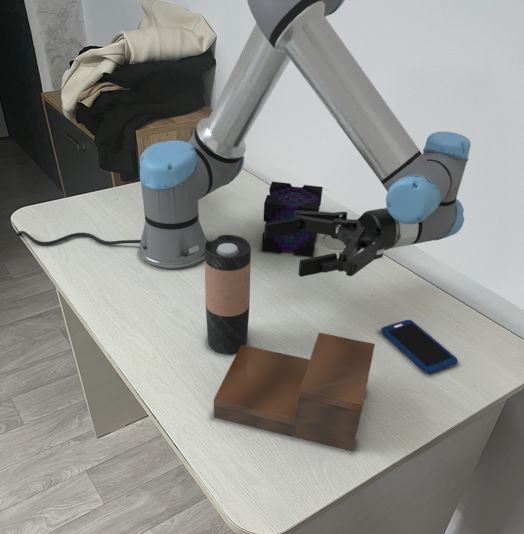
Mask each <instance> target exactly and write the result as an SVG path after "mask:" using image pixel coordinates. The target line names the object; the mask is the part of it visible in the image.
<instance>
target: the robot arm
mask: <svg viewBox="0 0 524 534" xmlns="http://www.w3.org/2000/svg"><path fill="white" fill-rule="evenodd" d="M345 1H346V0H247V5H248V7H249V10H250V13H251V14H252V15H251V16H252V17H253V19H254V21H255V24H254V26H253V29H251V30H252V31H251V33H250V34H249V37H248V39H247V41H246V43H245V45H244V47H243V49H242V51H241V53H240V55H239V57H238V59H237V60H236V62H235V65H234V67H233V69H232V71H231V73H230V75H229V77H228V78H227V81H226V83H225V84H224V87H223V89H222V91H221V93H220V95H219V97H218V99H217V100H216V103H215V105H214V107H213V109H212V111H211V114H210V115H209V117H204V118H202V119H200V120H199V121H198V123H197V124H196V127H195V128H194V130H193V133H192V134H191V137H190V139H189V140H188V141H184V140H178V139H177V140H176V139H171V140H166V141H159V142H156V143H153V144H151V145H150V146H147V147H146V148H145V149H144V150H143V151H142V153H141V154H140V157H139V174H138V175H139V179H140V186H141V195H142V196H141V197H142V205H143V212H144V226H143V230H142V234H141V239H124V240H123V239H122V240H113V241H111V240H104V239H100V238H99V237H98V236H95V234H92V233H89V232H75V233H71V234H67V235H64V236H62V237H60V238H57V239H54V240H50V241H42V240H41V241H40V240H37V239H35V238H34V237H32V236H31V235H30V234H29V233H28V232H26V231H24V230H20V231H18V232H17V233H16V236H17V237H20V236H21V235H23V236H24V237H26V238H27V239H29V241H31V242H33V243H34V244H36V245H39V246H40V245H41V246H49V245H55V244H58V243H61V242H65V241H66V240H68V239H72V238H75V237H89V238H91V239H93V240H94V241H96V242H98V243H100V244H103V245H109V246H111V245H122V244H139V252H140V253H139V254H140V257H141V259H142V260H143V261H144V262H145V263H147V264H148V265H151V266H153V267H156V268H160V269H165V270H166V269H167V270H169V269H170V270H178V269H185V268H189V267H193V266H195V265H197V264H199V263H202V261H204V260H205V250H204V248H205V243H206V242H207V241H208V240H207V238H206V235H205V233H204V230H203V227H202V224H201V222H200V217H199V216H200V214H199V201H200V200H201V199H203V198H205V197H206V196H208V195H209V194H211V193H213V192H215V191H217V190H218V189H220V188H222V187H225V186H226V185H229V184H230V183H232V182H233V181H234V180H235V179H236V178H237V177H238V176H239V175H240V173H241V171H242V170H243V168H244V164H245V156H244V155H245V153H246V150H247V146H246V142H245V139H246V138H247V136H248V134H249V133H250V131H251V129H252V127H253V125H254V124H255V122H256V120H257V118H258V117H259V115H260V113H261V112H262V110H263V108H264V106H265V105H266V103H267V102H268V99H269V98H270V96H271V95H272V92H273V91H274V89H275V88H276V86H277V84H278V82H279V81H280V79H281V77H282V76H283V74H284V72H285V70H286V68H287V67H288V65H289V64H290V63H291V62H292V63H293V65H294V66H295V67H296V69H297V70H298V72H300V74H301V75H302V77H303V79H305V81H306V82H307V84H308V86H309V87H310V88H311V89H312V90H313V92H314V93H315V94H316V96H317V98H318V99H319V100H320V101H321V103H322V104H323V105H324V107H325V108H326V109H327V111H328V113H330V115H331V116H332V117H333V119H334V120H335V122H336V123H337V125H338V126H339V127H340V129H341V130H342V131H343V133H344V134H345V135H346V137H347V138H348V139H349V141H350V142H351V143H352V145H353V146H354V148H355V149H356V150H357V151H358V153H359V154H360V155H361V157H362V159H364V161H365V162H366V164H367V165H368V166H369V168H370V169H371V171H372V172H373V173H374V175H375V176H376V177H377V179H378V180H379V181H380V183H381V184H382V186H383V188H384V189H385V190H386V192H387V193H386V197H385V204H386V207H384V208H376V209H370V210H366V211H364V212H363V213H362V214H361V215H360V216H359V218H357V219H353V218H352V219H350V218H348V212H347V211H334V212H333V211H332V212H330V211H319V212H315V211H295V215H294V218H293V219H288V220H282V221H276V222H270V223H266V222H264V231H263V233H264V237H265V239H269V238H275V237H280V236H285V235H291V234H297V233H298V231H299V230H300V231H306V232H312V233H317V235H318V234H319V235H324V236H329V237H330V238H331V239H333V240H338V241H340V242H342V243H343V245H344V246H345V247H344V249H343V250H342V251H339V254H337V253H335V252H333V253H329V254H327V253H326V254H323V255H318V256H313V257H308V258H304V259H303V258H302V259H299V263H298V273H297V274H298V276H299V277H300V278H302V277H307V276H312V275H316V274H320V273H323V274H324V273H330V272H334V271H338V272H345V275H346V276H348V277H353V276H354V275H356V274H357V273H358V272H359V271H361V270H363V269H364V268H365V267H366V266H368V265H369V264H371V263H372V262H373V261H375V260H379V259H382V258H383V257H384V252H385V251H388V250H390V249H392V250H393V249H396V248H401V247H406V246H411V245H416V244H422V243H428V242H432V241H440V240H442V239H445V238H449V237H452V236H454V235H456V234H457V233H459V231H461V229H462V227H463V225H464V222H465V217H464V213H465V212H464V211H465V210H464V209H465V208H464V206H463V204H462V203H461V201H460V200H459V199H458V194H459V190H460V187H461V182H462V179H463V176H464V173H465V170H466V166H467V162H469V154H470V150H471V145H472V144H471V141H470V138H468V137H467V136H465V135H464V134H461V133H458V132H457V133H456V132H453V131H436V132H432V133H430V134H429V135H428V136H427V138H426V141H425V145H424V147H423V148H422V151H423V152H421V150H420V148H419V147H418V145H416V143H415V142H414V141H413V140H414V139H412V137H411V136H410V135H409V134H408V132H407V131H406V129H405V127H404V126H403V124H402V123H401V122H400V121H399V119H398V118H397V116H396V115H395V113H394V111H392V109H391V108H390V106H389V105H388V104H387V102H386V101H385V99H384V97H382V95H381V94H380V92H379V91H378V89H377V88H376V87H375V86H374V84H373V82H372V81H371V80H370V78H369V77H368V75H367V74H366V73H365V71H364V70H363V68H362V67H361V65H360V64H359V63H358V61H357V60H356V59H355V57H354V56H353V54H352V52H350V50H349V49H348V47H347V45H345V43H344V42H343V40H342V39H341V38H340V36H339V35H338V33H337V32H336V30H335V29H334V27H333V26H332V25H331V24H330V22H329V21H328V19H327V18H326V17H328V16H330V15H333V14H334V13H336V12H337V11H338V10H339V9H340V7H341V6H343V4H344V3H345ZM290 61H291V62H290ZM337 228H338V229H337Z"/></svg>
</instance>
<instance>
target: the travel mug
mask: <svg viewBox="0 0 524 534" xmlns="http://www.w3.org/2000/svg"><path fill="white" fill-rule="evenodd" d="M251 249H252V247H251V244H250V242H249V241H248V240H247V239H246V238H244V237H241V236H238V235H235V234H233V235H232V234H221V235H218V236H217V237H216V238H215V239H212V240H210V241H209V240H207V242H206V243H205V248H204V250H205V259H204V292H205V293H204V294H205V295H204V297H205V301H204V302H205V314H206V315H205V316H206V317H205V318H206V332H207V333H206V334H207V343H208V346H209V348H210V349H211V350H212V351H214V352H216V353H218V354H221V355H234V354H237V352H238V350H239V348H240V346H241V345H245V346H247V342H248V333H249V318H250V301H251V299H250V298H251V260H252V259H251V253H252V251H251Z"/></svg>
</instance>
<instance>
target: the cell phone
mask: <svg viewBox="0 0 524 534" xmlns="http://www.w3.org/2000/svg"><path fill="white" fill-rule="evenodd" d="M380 332H381V334H382V335H383V336H384V337H386V338H387V340H389V341H390V342H391V343H392V344H393V345H394V346H395V347H396V348H398V350H400V351H401V352H402V353H403V354H404V355H405V356H406V357H408V359H409V360H411V361H412V362H413V363H414V364H415V365H416V366H417V367H418V368H420V370H422V371H423V372H424V373H425V374H433V373H436V372H439V371H441V370H444V369H446V368H449V367H452V366H455V365H456V364H457V363H458V358H457V357H456V356H455V355H454V354H453V353H452V352H450V351H449V350H447V348H445V347H444V346H443V345H442V344H441V343H439V342H438V341H437V340H436V339H434V338H433V337H432V336H431V335H430V334H429V333H428V332H426V331H425V330H424V329H423V328H422V327H420V326H419V325H418V324H417V323H416V322H414V321H413V320H412V319H405V320H402V321H399V322H396V323H393V324H389V325H387V326H384V327H382V328H381V329H380Z"/></svg>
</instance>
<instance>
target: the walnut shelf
mask: <svg viewBox="0 0 524 534" xmlns="http://www.w3.org/2000/svg"><path fill="white" fill-rule="evenodd" d="M375 346H376V344H375V343H372V342H367V341H362V340H357V339H353V338H348V337H343V336H339V335H338V336H337V335H333V334H328V333H324V332H318V334H317V338H316V340H315V343H314V346H313V350H312V352H311V356H310V358H305V357H300V356H295V355H292V354H286V353H281V352H279V351H278V352H277V351H272V350H268V349H263V348H259V347H255V346H249V345H246V346H245V345H241V346H240V348H239V350H238V352H237V353H235V356H234V357H233V360H232V362H231V364H230V366H229V368H228V370H227V372H226V375H225V376H224V378H223V380H222V382H221V383H220V385H219V388H218V390H217V392H216V394H215V395H214V398H213V418H215V419H220V420H224V421H228V422H232V423H236V424H240V425H243V426H244V425H245V426H249V427H252V428H256V429H260V430H265V431H269V432H273V433H277V434H281V435H285V436H290V437H293V438H296V439H302V440H305V441H308V442H309V441H310V442H312V443H313V442H314V443H318V444H321V445H325V446H330V447H334V448H339V449H342V450H345V451H351V452H353V449H354V446H355V442H356V441H355V440H356V437H357V432H358V429H359V423H360V419H361V415H362V411H363V407H364V401H365V398H366V397H365V396H366V391H367V388H368V387H367V386H368V381H369V376H370V372H371V366H372V361H373V356H374V351H375Z"/></svg>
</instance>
